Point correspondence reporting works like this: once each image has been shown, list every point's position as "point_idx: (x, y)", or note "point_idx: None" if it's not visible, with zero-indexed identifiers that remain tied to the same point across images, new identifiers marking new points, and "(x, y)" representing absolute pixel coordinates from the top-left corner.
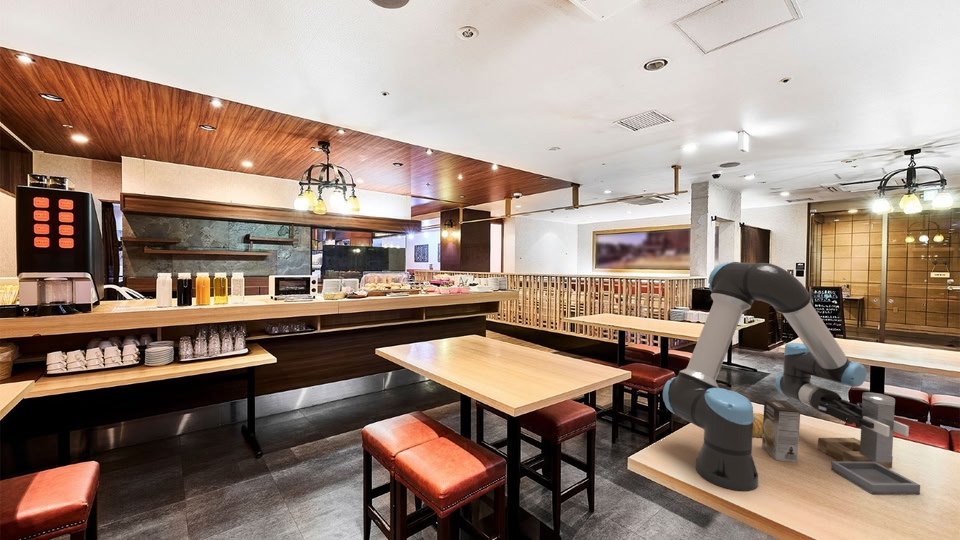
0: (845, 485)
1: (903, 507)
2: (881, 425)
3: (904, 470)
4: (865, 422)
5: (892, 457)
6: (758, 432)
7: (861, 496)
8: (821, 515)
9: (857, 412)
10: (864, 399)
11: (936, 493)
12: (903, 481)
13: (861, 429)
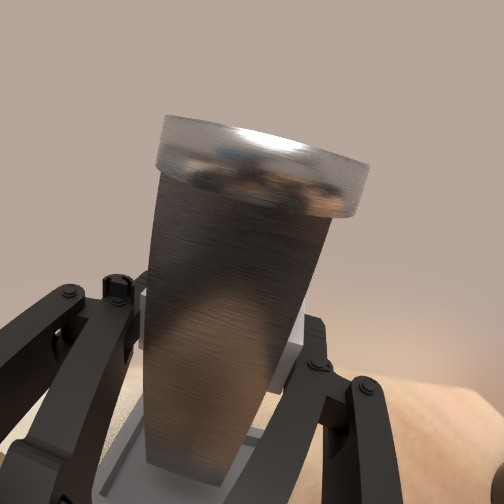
0: (310, 490)
1: (261, 402)
2: None
3: (6, 445)
4: (324, 339)
5: (2, 453)
6: None
7: (317, 448)
8: (437, 411)
9: (83, 468)
10: (357, 204)
11: None
12: (139, 426)
13: (248, 428)
